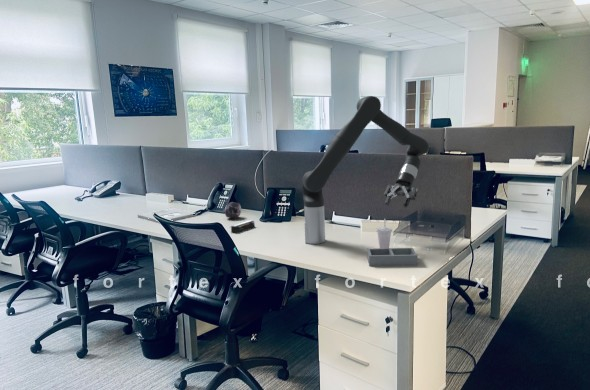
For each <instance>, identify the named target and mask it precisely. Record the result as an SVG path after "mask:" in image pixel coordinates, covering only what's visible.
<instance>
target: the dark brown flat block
mask: <svg viewBox="0 0 590 390" xmlns="http://www.w3.org/2000/svg"><path fill="white" fill-rule="evenodd" d="M255 226H256V225H255V221H254V220H246V221H244V222H240V223H237V224H233V225H232V226H229V228H230V233H231V234H238V233H241V232H244V231H246V230H249V229H253V228H255Z"/></svg>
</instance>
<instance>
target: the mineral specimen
mask: <svg viewBox="0 0 590 390" xmlns="http://www.w3.org/2000/svg"><path fill="white" fill-rule="evenodd" d="M241 214H242V207H241V204H240V202H235V201H231V202H229V203H227V204H226V206H225V208H224V215H225V217H226V218H229V219H237V218H239V217H240V215H241Z"/></svg>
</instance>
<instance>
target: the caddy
mask: <svg viewBox="0 0 590 390" xmlns="http://www.w3.org/2000/svg"><path fill="white" fill-rule="evenodd" d="M366 259H367V263H368V266H369V267H390V266H391V267H393V266H394V267H395V266H396V267H397V266H398V267H401V266H403V267H404V266H405V267H407V266H409V267H410V266H418V254H417V252H416V251H415V249H414V248H413V247H389V248H380V247H379V248H367V249H366Z"/></svg>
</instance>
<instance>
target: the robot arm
mask: <svg viewBox="0 0 590 390" xmlns="http://www.w3.org/2000/svg"><path fill="white" fill-rule="evenodd" d="M381 107H382V104H381V100H380V99H379V98H378V97H377V96H375V95H374V96H373V95H368V96H364V97H361V98H360V99H359V100H358V101H357V104H356V112H355V114H354V115H353V117H352V118H351V119H350V120H349V121H348V122H347V123H345V125H343V127H342V128H340V130H339V131H338V132H337V133H336V134H335V135H334V137H333V138H332V139H331V141H330V142H329V143H328V145H327V148H326V149H325V152H324V153H323V157H322V158H321V159H320V162H319V163H318V164H317V166H315V168H314V169H313V170H308V171H307V172H305V173H304V175H303V177H302V179H301V180H302V181H301V185H302V199H303V206H304V207H303V208H304V210H303V211H304V240H305V244H311V245H313V244H314V245H315V244H316V245H319V244H323V243H325V242H326V225H325V224H326V221H325V200H324V197H323V196H324V195H323V188H324V187H325V186H326V184H327V182H328V180H329V178H330V177H331V175H332V174H333V172H334V171H335V169H336V168H337V167H338V165H339V164H341V162H342V161H343V159H344V158H345V157H346V155H348V153H349V152H350V151H351V149H352V147H353V146H354V144H355V143H356V141H358V140H359V138H360V136H361V134H362V133H363V131H364V130H365V129H366V127H367V126H368V125H369V124H370V123H371V122H372V123H374V124H375V125H376V126H378V127H379V128H381V129H382V130H383V131H384V132H386V134H388V135H389V136H390V137H391V138H393V139H394V140H395V141H396V142H397V143H398V144H400V145H401V146H408V147H407V148H406V151H405V160H404V163H403V165H402V167H401V168H400V171H399V174H398V176H397V178H396V180H395V184H394V185H391V184H387V186H386V189H385V191H384V193H383V195H384V197H385V201H384V204H385V205H386V206H387V207H388V206H389V205H390V203H391V201H392V198H395V197H397V196H399V197H400V196H401V197H405V199H404V203H403V205H402V206H403V208H408V207H409V204H410V203H411V201H416V198H417V196H418V192H419V189H418V187H417V186H416V185H415V186H414V183H415V180H416V179H417V176H418V171H419V168H420V166H421V159H420V158H419V157H421V156H424V155H425V154H427V153H428V152H429V151H430V146H429V143H428V141H427V140H425V138H422V137H421V136H419V135H417V134H414V133H413V132H411V131H410V130H408V129H407V128H406V127H405V126H404V125H402V124H401V123H400V122H398V121H396V120H395V119H393V118H392V117H390V116H388V115H387V114H386V113H384V111H382V110H381ZM410 192H411V195H409V193H410Z"/></svg>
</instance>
